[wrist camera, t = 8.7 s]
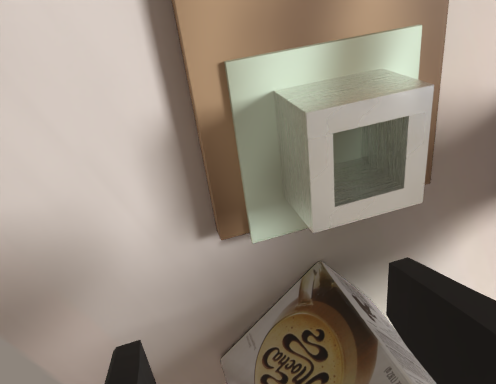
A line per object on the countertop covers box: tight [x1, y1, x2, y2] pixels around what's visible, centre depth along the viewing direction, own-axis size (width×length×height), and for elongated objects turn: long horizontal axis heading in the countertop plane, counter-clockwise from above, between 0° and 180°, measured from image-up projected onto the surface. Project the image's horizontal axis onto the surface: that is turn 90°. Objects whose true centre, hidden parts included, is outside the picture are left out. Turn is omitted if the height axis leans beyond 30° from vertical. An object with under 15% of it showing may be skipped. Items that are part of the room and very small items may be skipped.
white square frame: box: [274, 68, 434, 233], centre depth 18 cm, size 5×5×4 cm
